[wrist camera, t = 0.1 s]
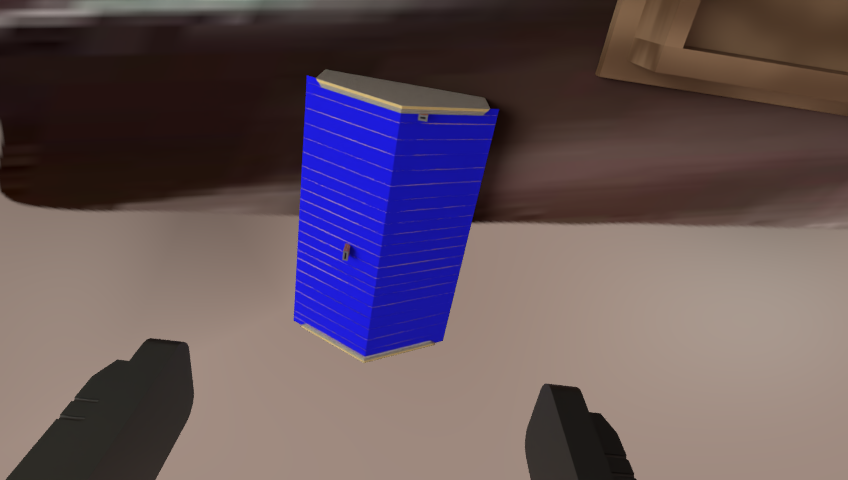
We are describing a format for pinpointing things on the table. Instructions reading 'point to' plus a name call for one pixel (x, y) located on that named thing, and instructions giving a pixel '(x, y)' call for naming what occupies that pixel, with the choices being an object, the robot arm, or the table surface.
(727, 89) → the walnut open box
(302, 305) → the blue slatted box
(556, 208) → the table surface
